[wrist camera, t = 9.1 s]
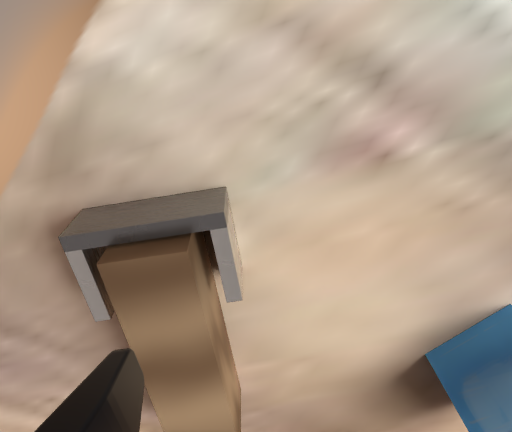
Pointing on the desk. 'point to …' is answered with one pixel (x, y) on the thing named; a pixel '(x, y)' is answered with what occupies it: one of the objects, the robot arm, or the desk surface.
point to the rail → (175, 330)
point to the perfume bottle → (479, 372)
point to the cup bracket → (150, 227)
